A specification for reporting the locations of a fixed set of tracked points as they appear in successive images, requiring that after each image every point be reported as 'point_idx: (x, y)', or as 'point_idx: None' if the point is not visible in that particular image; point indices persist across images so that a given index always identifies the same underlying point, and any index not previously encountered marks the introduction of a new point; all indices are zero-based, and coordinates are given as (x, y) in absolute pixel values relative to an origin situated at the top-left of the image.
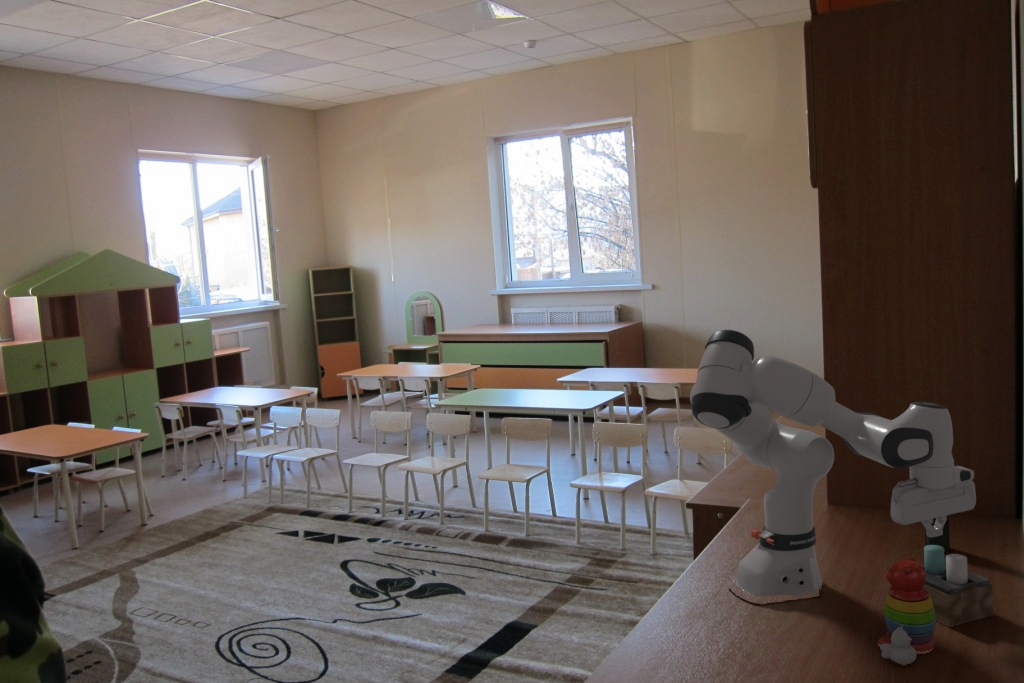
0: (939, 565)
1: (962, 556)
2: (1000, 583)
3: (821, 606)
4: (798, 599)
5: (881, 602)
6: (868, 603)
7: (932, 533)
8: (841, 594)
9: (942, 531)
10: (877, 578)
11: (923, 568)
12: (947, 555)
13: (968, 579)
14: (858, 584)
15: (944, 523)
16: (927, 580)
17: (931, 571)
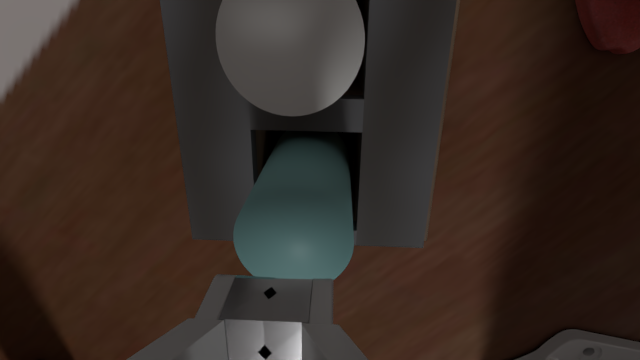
0: (314, 155)
1: (237, 32)
2: (22, 151)
3: (611, 285)
4: None
5: (446, 225)
6: (484, 238)
7: (328, 299)
8: (494, 313)
9: (208, 292)
10: None
11: None
12: (316, 106)
13: None
14: (401, 335)
15: (148, 349)
16: (436, 106)
17: (346, 166)
